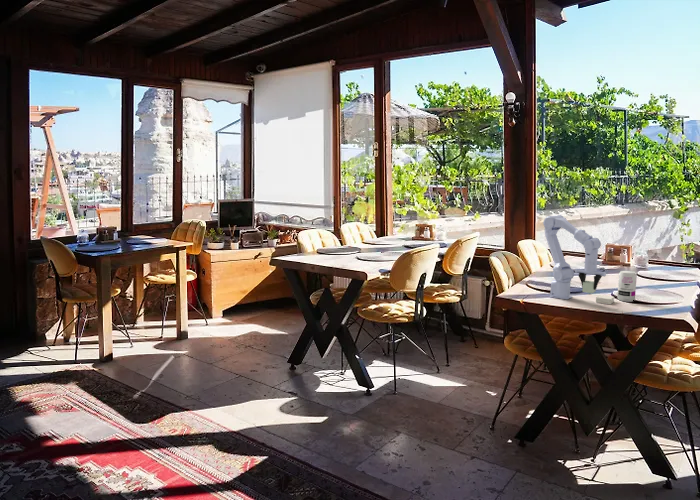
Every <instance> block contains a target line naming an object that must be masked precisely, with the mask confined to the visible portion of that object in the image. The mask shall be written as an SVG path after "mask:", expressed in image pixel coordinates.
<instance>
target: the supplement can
mask: <svg viewBox="0 0 700 500" xmlns="http://www.w3.org/2000/svg"><path fill="white" fill-rule="evenodd" d="M637 277H638V276H637V273H636V271H634V270H633V271H632V270H620V272H619V274H618V283H617V285H618V286H617V297H616V298H617V299H618V300H619V301H621V302H625V303H626V302H627V303H631V302H634V301H635V299H636V291H637ZM633 300H634V301H633Z"/></svg>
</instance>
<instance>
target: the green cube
mask: <svg viewBox="0 0 700 500" xmlns="http://www.w3.org/2000/svg"><path fill="white" fill-rule="evenodd" d="M596 292H597V289H596V290H594V280H592V281H591V280H585V281H584V282H583V288H582V293H587V294H594V293H596Z"/></svg>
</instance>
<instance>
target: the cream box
mask: <svg viewBox="0 0 700 500" xmlns="http://www.w3.org/2000/svg"><path fill="white" fill-rule="evenodd" d="M614 302H615V296H611V295H604V294H599V295H597V296H596V297H595V303H597V304H598V303H599V304H605V305H612V304H613V303H614Z"/></svg>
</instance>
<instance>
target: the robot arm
mask: <svg viewBox="0 0 700 500" xmlns="http://www.w3.org/2000/svg"><path fill="white" fill-rule="evenodd" d="M542 223H543V226H544V227H543V228H544V237H545V240H546V241H547V245H548V248H549V252H550V253H551V256H552V257H551V258H552V260H553V263H554V265H553V267H552V271H553V272H552V273H553V280H551V283H550V295H549V297H550V298H555V299H561V300H569V299H571V298H573V295H571V282H572V279H574V277H575V274H578V277H579V280H580V283H581V287H582V288H581V289H583V282H584V281H586V277H587V275H592V276H593V281H594V290H596V291H597V288H598V285H599V282H600V280H601V278H602V277H606V276H607V272H606V271H600V270H597V269H598V258H599V257H598V255H599V254H598V253H599V249H601V245H602V243H601V240H600V239H599V238H597V237H593V236H592V235H590V234H589V233H587V232H586V230H585V229H578V228H576V227H575V225H573V224H572V223H571V222H570V221H568V220H567V217H564V216H563V215H562V214H559V215H548V216H545V218H544V220H543V222H542ZM561 229H564V230H565V231H567V232H568V233H570V234H572V235H573V239H575V240H576V241H577V242H578V243H580V244H581V245H583V248H584V252H585V255H584V256H585V257H584V268H575V270H574V269H573V268H572V267H571V265H570V264H569V263H568V262H566V259H565V256H564V253H563V251H562V248H561V247H562V246H561V245H560V242H559V239H558V235H557V234H558V232H559V231H560V230H561Z"/></svg>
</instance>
